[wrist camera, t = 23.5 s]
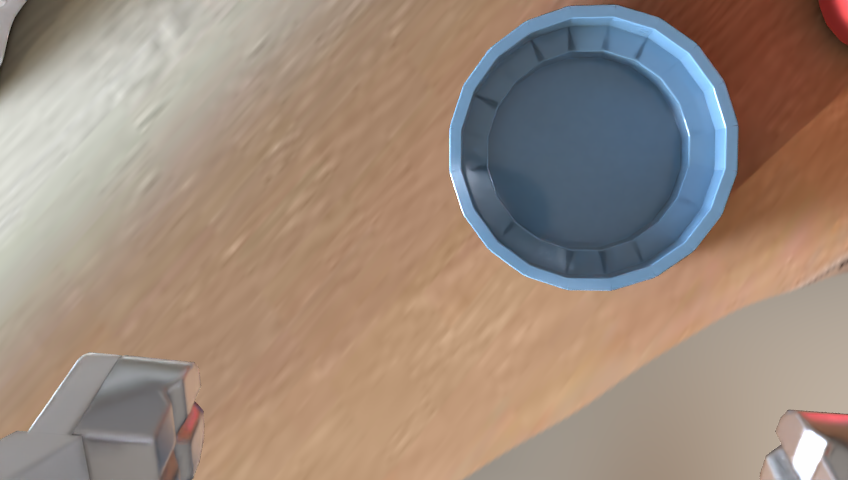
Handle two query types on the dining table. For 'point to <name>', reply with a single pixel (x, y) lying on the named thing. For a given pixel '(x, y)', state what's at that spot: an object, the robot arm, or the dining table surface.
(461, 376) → the dining table surface
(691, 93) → the bowl
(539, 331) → the dining table surface
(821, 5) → the beer can
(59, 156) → the dining table surface
